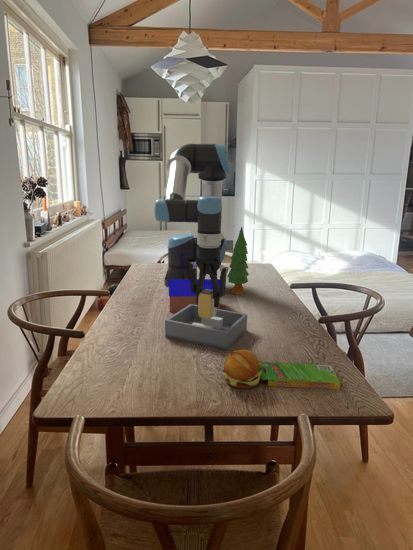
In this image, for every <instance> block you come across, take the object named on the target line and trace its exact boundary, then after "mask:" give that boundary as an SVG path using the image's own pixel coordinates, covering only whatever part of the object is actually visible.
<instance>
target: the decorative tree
mask: <svg viewBox="0 0 413 550" xmlns="http://www.w3.org/2000/svg"><path fill="white" fill-rule="evenodd" d="M247 247H248V243H247V240H246V238H245V235H244V230H243V226H241V228H240V230H239V232H238V236H237V239H236V241H235V243H234V247H233V249H232V250H233V251H232V255H231V257H230V260H231V262H230V264H229V266H228V268H229V271H228V274H227V276H226V279H227V281H228V283H230V284H234V286H233V288H232V289H231V293H230V294H232V295H233V294H234V295H243V294H245V293H246V291H245V289H244V286H243V285H245V284H247V283H248V282H249V280H248V276H249V275H250V274H249V272H248V270H247V269H249V266H248V265H249V264H248V263H247V261H248V257H247V255H248V254H249V253H248V252H249V251H248V248H247Z"/></svg>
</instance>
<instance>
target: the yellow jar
mask: <svg viewBox="0 0 413 550" xmlns="http://www.w3.org/2000/svg"><path fill="white" fill-rule="evenodd" d="M213 297H214V296H213V290H210V289H204V290H203V291H202V292H201V293H200V294H199V317H204V318H209V319H210V318H212V317H211V301H212V298H213Z"/></svg>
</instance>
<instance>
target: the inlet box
mask: <svg viewBox="0 0 413 550" xmlns="http://www.w3.org/2000/svg"><path fill="white" fill-rule="evenodd" d="M247 328H248V314H247V313H242V312H237V311H233V310H232V311H231V310H227V309H226V310H225V309H221V308H220V309H217V312H216V315H215V316H214V317H212V318H210V319H209V318H204V317H199V315H198V305H193V304H190V305H188V306H187V307H185V308H183V309H182V310H180V311H179V312H175V313H174V314H172V315H171V316H169V317H168V318H165V320H164V337H165V338H168V339H171V340H176V341H180V342H184V343H185V342H186V343H190V344H194V345H198V346H203V347H208V348H212V349H217V350H222V351H229V350H230V349H231V347H232V346H233V345H234V344H235V343H236V342H237V341H238V340H239V339H240V338H241V337H242V336H243V335H244V334H245V333H246V332H247V331H248V329H247Z"/></svg>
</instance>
